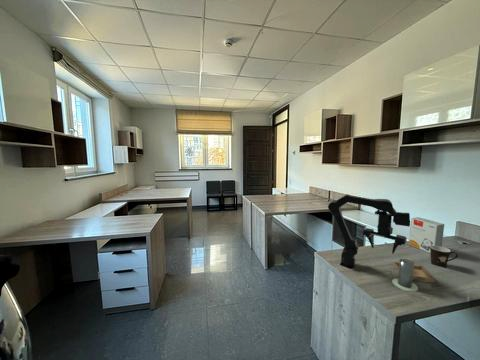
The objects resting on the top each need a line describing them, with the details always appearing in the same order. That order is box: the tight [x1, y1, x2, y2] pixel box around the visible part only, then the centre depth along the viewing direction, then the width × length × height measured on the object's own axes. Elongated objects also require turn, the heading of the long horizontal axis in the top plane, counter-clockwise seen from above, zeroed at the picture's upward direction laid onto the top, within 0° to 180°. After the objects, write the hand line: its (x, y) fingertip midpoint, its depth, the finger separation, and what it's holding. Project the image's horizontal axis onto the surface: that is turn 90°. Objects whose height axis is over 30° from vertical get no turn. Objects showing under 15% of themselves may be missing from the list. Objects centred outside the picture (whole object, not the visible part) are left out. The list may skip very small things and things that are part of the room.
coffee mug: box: [429, 245, 458, 268], centre depth 119 cm, size 12×9×10 cm
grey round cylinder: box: [397, 258, 415, 288], centre depth 102 cm, size 6×6×12 cm
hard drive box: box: [408, 216, 445, 254], centre depth 140 cm, size 16×8×20 cm, turn 17°
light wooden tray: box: [392, 261, 437, 284], centre depth 112 cm, size 14×14×2 cm
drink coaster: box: [391, 277, 419, 292], centre depth 103 cm, size 10×10×1 cm
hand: (382, 250), depth 112 cm, fingers open, 9 cm apart
